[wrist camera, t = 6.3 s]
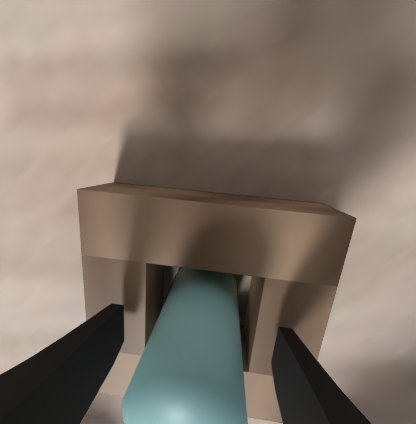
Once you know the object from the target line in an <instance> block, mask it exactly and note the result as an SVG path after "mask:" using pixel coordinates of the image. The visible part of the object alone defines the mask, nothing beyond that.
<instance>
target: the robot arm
mask: <svg viewBox="0 0 416 424" xmlns="http://www.w3.org/2000/svg"><path fill="white" fill-rule="evenodd" d="M123 343H124V305H120V304H113V303H111V304H110V305H108V306H107V307H105V308H104V309H102V310H101V311H100V312H98V313H97V314H95V315H94V316H93V317H91V318H90V319H88V320H87V321H85V322H84V323H83V324H81V325H80V326H78V327H77V328H75V329H74V330H72V331H71V332H69V333H68V334H67V335H65V336H64V337H62V338H60V339H59V340H57V341H56V342H54V343H53V344H51V345H49V346H48V347H46V348H45V349H43V350H42V351H40V352H39V353H37V354H35V355H34V356H32V357H30V358H29V359H27V360H25V361H24V362H22V363H20V364H19V365H17V366H15V367H13V368H12V369H10V370H8V371H6V372H4V373H3V374H1V375H0V424H80V422H81V420H82V419H83V417H84V415H85V413H86V412H87V410H88V408H89V407H90V405H91V403H92V401H93V400H94V398H95V396H96V395H97V393H98V391H99V389H100V388H101V386H102V384H103V382H104V381H105V379H106V377H107V375H108V374H109V372H110V370H111V368H112V367H113V365H114V363H115V360H116V358H117V356H118V354H119V352H120V349H121V347H122V345H123ZM271 366H272V373H273V380H274V387H275V392H276V396H277V401H278V405H279V409H280V413H281V417H282V421H283V424H371V423H370V422H369V421H368V420H367V419H366V417H365V416H364V415H363V414H362V413H361V412H360V411H359V410H358V409H357V408H356V406H355V405H354V404H353V403H352V402H351V401H350V400H349V398H348V397H347V396H346V395H345V394H344V393H343V392H342V390H341V389H340V388H339V387H338V386H337V384H336V383H335V382H334V381H333V380H332V378H331V377H330V376H329V375H328V374H327V372H326V371H325V370H324V369H323V367H322V366H321V365H320V364H319V362H318V361H317V360H316V359H315V357H314V356H313V355H312V353H311V352H310V351H309V350H308V348H307V347H306V346H305V344H304V343H303V342H302V340H301V339H300V338H299V336H298V335H297V334H296V333H295V331H294V330H293V329H292V328H286V327H278V331H277V336H276V341H275V346H274V350H273V355H272V360H271Z"/></svg>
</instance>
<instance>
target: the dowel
mask: <svg viewBox="0 0 416 424" xmlns="http://www.w3.org/2000/svg"><path fill="white" fill-rule="evenodd" d="M122 417H123V420H124V423H125V424H248V421H247V408H246V396H245V384H244V372H243V360H242V347H241V335H240V323H239V311H238V299H237V286H236V281H235V278H234V276H233V274H231V273H223V272H215V271H207V270H199V269H191V268H183V267H182V268H181V269H180V270H179V272H178V274H177V276H176V278H175V280H174V283H173V285H172V287H171V290H170V292H169V294H168V296H167V299H166V301H165V303H164V306H163V308H162V310H161V312H160V315H159V317H158V319H157V322H156V324H155V326H154V328H153V331H152V333H151V335H150V338H149V340H148V342H147V344H146V347H145V349H144V351H143V354H142V356H141V358H140V360H139V363H138V365H137V367H136V370H135V372H134V374H133V376H132V379H131V381H130V383H129V386H128V388H127V390H126V392H125V395H124V397H123V401H122Z"/></svg>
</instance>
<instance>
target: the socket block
mask: <svg viewBox="0 0 416 424" xmlns="http://www.w3.org/2000/svg"><path fill="white" fill-rule="evenodd" d="M77 195H78V209H79V223H80V237H81V252H82V266H83V280H84V294H85V308H86V321H87V320H88V319H90V318H91V317H93V316H94V315H95V314H97V313H98V312H100V311H101V310H102V309H104V308H105V307H107V306H108V305H110V304H111V303H113V304H120V305H124V343H123V345H122V347H121V349H120V352H119V354H118V356H117V358H116V360H115V363H114V365H113V367H112V368H111V370H110V372H109V374H108V375H107V377H106V379H105V381H104V382H103V384H102V386H101V388H100V389H99V391H98V392H100V393H106V394H112V395H118V396H124V395H125V392H126V390H127V388H128V386H129V383H130V381H131V379H132V376H133V374H134V372H135V370H136V367H137V365H138V363H139V360H140V358H141V356H142V354H143V351H144V349H145V347H146V344H147V342H148V340H149V338H150V335H151V333H152V331H153V328H154V326H155V324H156V322H157V319H158V317H159V315H160V312H161V310H162V294H163V267H164V265H167V266H175V267H183V268H191V269H199V270H207V271H215V272H223V273H231V274H239V275H248V276H252V278H251V285H250V291H249V297H248V304H247V310H246V316H245V323H244V327H240V335H241V347H242V360H243V372H244V384H245V396H246V408H247V417H249V418H255V419H261V420H267V421H273V422H279V423H283V421H282V417H281V413H280V409H279V405H278V401H277V396H276V392H275V387H274V380H273V373H272V366H271V360H272V355H273V350H274V346H275V341H276V336H277V331H278V327H286V328H292V329H293V330H294V331H295V333H296V334H297V335H298V336H299V338H300V339H301V340H302V342H303V343H304V344H305V346H306V347H307V348H308V350H309V351H310V352H311V353H312V355H313V356H314V357H315V359H316V360H317V358H318V355H319V351H320V348H321V344H322V340H323V337H324V333H325V330H326V326H327V322H328V319H329V315H330V312H331V308H332V304H333V301H334V297H335V294H336V290H337V287H338V283H339V279H340V276H341V272H342V269H343V265H344V261H345V258H346V254H347V251H348V247H349V243H350V240H351V236H352V233H353V229H354V225H355V222H356V218H355V217H352V216H350V215H348V214H346V213H343V212H341V211H339V210H336V209H334V208H332V207H329V206H327V205H325V204H321V203H311V202H301V201H291V200H281V199H271V198H261V197H251V196H242V195H232V194H222V193H212V192H202V191H192V190H182V189H172V188H162V187H152V186H142V185H132V184H122V183H108V184H103V185H97V186H92V187H86V188H81V189H77Z"/></svg>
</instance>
